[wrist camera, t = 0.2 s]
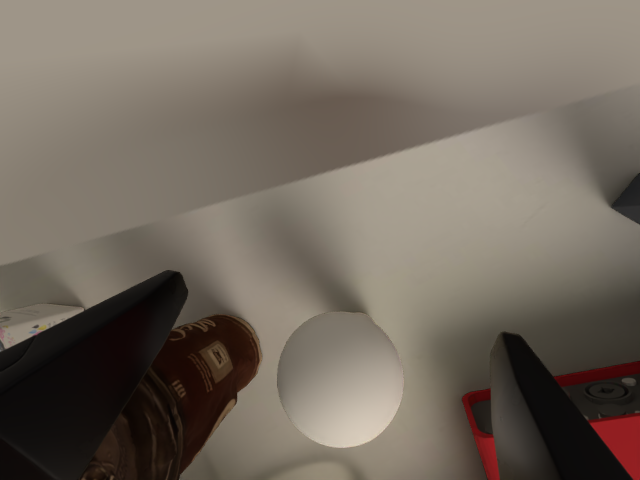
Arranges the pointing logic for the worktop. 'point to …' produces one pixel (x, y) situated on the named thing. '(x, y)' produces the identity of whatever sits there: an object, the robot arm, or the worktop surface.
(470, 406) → the red device housing
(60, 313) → the ink cartridge box
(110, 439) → the coffee cup
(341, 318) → the lightbulb
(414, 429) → the worktop surface
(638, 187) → the switch plate
